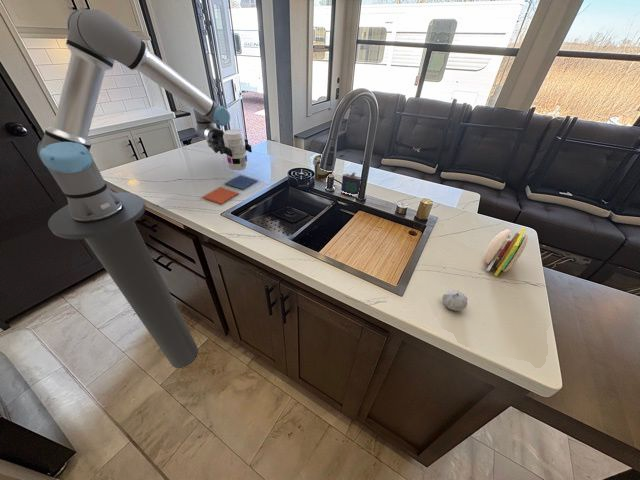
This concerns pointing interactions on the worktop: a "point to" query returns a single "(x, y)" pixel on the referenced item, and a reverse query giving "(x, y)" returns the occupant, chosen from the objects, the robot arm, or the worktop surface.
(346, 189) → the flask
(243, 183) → the slate pad
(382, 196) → the worktop surface
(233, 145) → the supplement can
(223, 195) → the terracotta pad
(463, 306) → the garlic
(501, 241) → the hamburger
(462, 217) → the worktop surface
